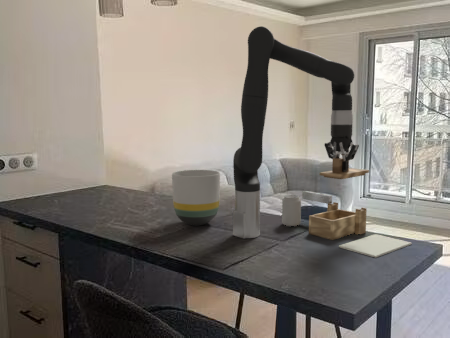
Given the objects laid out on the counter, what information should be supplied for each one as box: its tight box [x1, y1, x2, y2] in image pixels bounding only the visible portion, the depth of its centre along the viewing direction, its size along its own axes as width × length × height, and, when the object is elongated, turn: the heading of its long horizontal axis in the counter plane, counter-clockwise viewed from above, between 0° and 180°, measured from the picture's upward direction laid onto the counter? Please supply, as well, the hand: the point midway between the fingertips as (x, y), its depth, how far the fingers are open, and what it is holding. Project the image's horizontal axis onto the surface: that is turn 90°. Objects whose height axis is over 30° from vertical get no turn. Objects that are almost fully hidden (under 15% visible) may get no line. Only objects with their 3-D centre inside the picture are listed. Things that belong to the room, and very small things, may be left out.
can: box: [281, 194, 302, 227], centre depth 178 cm, size 8×8×12 cm
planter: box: [171, 169, 221, 226], centre depth 179 cm, size 20×20×21 cm
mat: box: [338, 233, 413, 259], centre depth 150 cm, size 22×14×1 cm, turn 129°
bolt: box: [301, 190, 333, 205], centre depth 180 cm, size 2×14×3 cm, turn 39°
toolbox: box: [308, 201, 368, 241], centre depth 166 cm, size 18×15×10 cm
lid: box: [319, 156, 370, 180], centre depth 160 cm, size 18×9×7 cm, turn 130°
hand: (340, 170), depth 158 cm, fingers closed on lid, 2 cm apart
